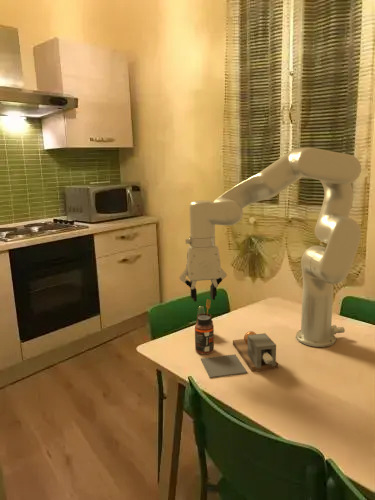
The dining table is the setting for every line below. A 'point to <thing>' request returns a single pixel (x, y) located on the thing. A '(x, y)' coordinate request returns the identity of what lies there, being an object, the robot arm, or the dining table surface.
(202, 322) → the supplement bottle
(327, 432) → the dining table surface
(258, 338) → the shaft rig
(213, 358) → the pad
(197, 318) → the utensil holder
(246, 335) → the shaft
